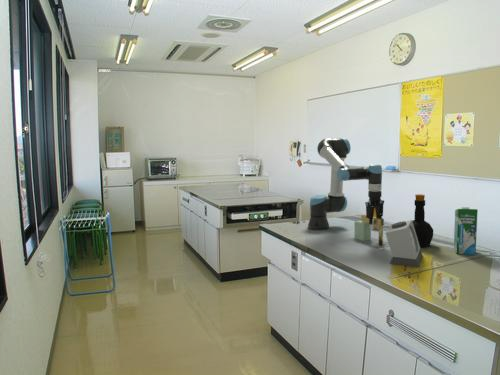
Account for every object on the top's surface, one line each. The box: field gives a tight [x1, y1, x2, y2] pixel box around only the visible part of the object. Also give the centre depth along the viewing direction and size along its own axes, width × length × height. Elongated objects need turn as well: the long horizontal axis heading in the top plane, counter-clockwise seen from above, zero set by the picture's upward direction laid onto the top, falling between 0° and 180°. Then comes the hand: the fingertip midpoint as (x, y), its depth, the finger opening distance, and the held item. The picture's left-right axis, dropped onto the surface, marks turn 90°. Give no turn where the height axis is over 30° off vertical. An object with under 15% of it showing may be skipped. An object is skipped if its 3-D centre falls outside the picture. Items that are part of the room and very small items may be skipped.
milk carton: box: [453, 206, 479, 256], centre depth 206 cm, size 9×9×25 cm
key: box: [360, 214, 385, 244], centre depth 230 cm, size 16×2×15 cm, turn 27°
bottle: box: [412, 194, 434, 248], centre depth 222 cm, size 16×16×30 cm
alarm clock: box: [385, 219, 423, 268], centre depth 197 cm, size 20×16×20 cm
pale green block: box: [354, 219, 372, 241], centre depth 238 cm, size 8×6×11 cm
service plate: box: [349, 237, 389, 249], centre depth 232 cm, size 24×14×1 cm, turn 27°
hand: (374, 228), depth 228 cm, fingers open, 4 cm apart
